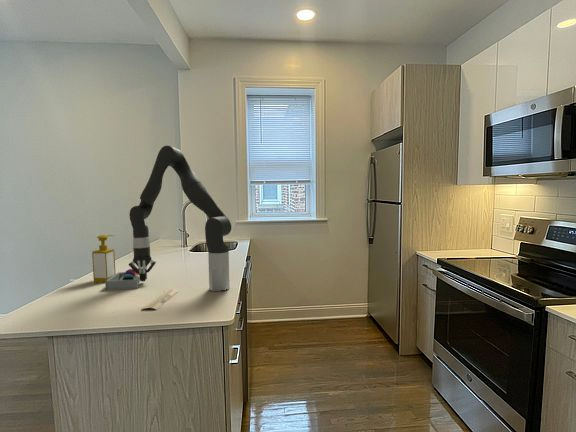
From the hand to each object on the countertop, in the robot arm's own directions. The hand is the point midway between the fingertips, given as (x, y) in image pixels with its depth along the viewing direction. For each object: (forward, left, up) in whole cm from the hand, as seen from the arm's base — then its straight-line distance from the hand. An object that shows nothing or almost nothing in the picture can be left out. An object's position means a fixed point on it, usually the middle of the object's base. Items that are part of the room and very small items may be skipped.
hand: (143, 280), depth 171 cm
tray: (0, +7, -1) cm, 7 cm away
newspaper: (-30, -15, -2) cm, 34 cm away
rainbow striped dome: (0, +6, -2) cm, 6 cm away
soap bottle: (+12, +20, -1) cm, 24 cm away
